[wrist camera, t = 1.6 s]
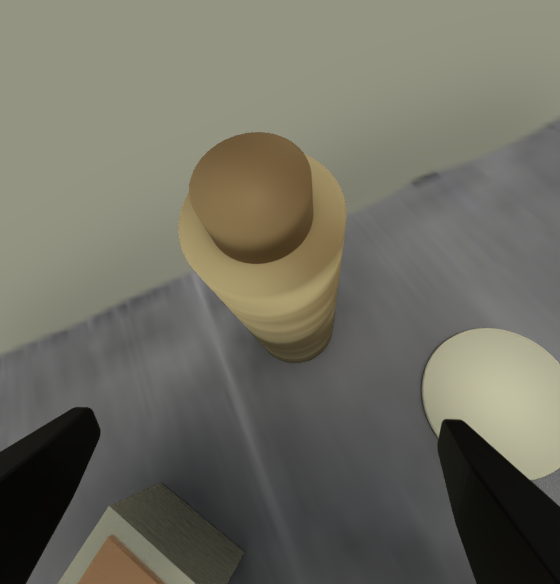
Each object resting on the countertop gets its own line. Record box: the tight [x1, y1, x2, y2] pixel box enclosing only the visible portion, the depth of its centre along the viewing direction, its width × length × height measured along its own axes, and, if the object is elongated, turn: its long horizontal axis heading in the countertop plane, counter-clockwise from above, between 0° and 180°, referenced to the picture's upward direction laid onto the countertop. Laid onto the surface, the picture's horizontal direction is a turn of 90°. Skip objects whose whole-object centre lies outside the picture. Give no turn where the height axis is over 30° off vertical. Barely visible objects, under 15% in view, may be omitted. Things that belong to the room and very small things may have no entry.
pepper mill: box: [178, 132, 346, 363], centre depth 15 cm, size 5×5×14 cm
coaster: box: [421, 328, 560, 480], centre depth 19 cm, size 8×8×1 cm
